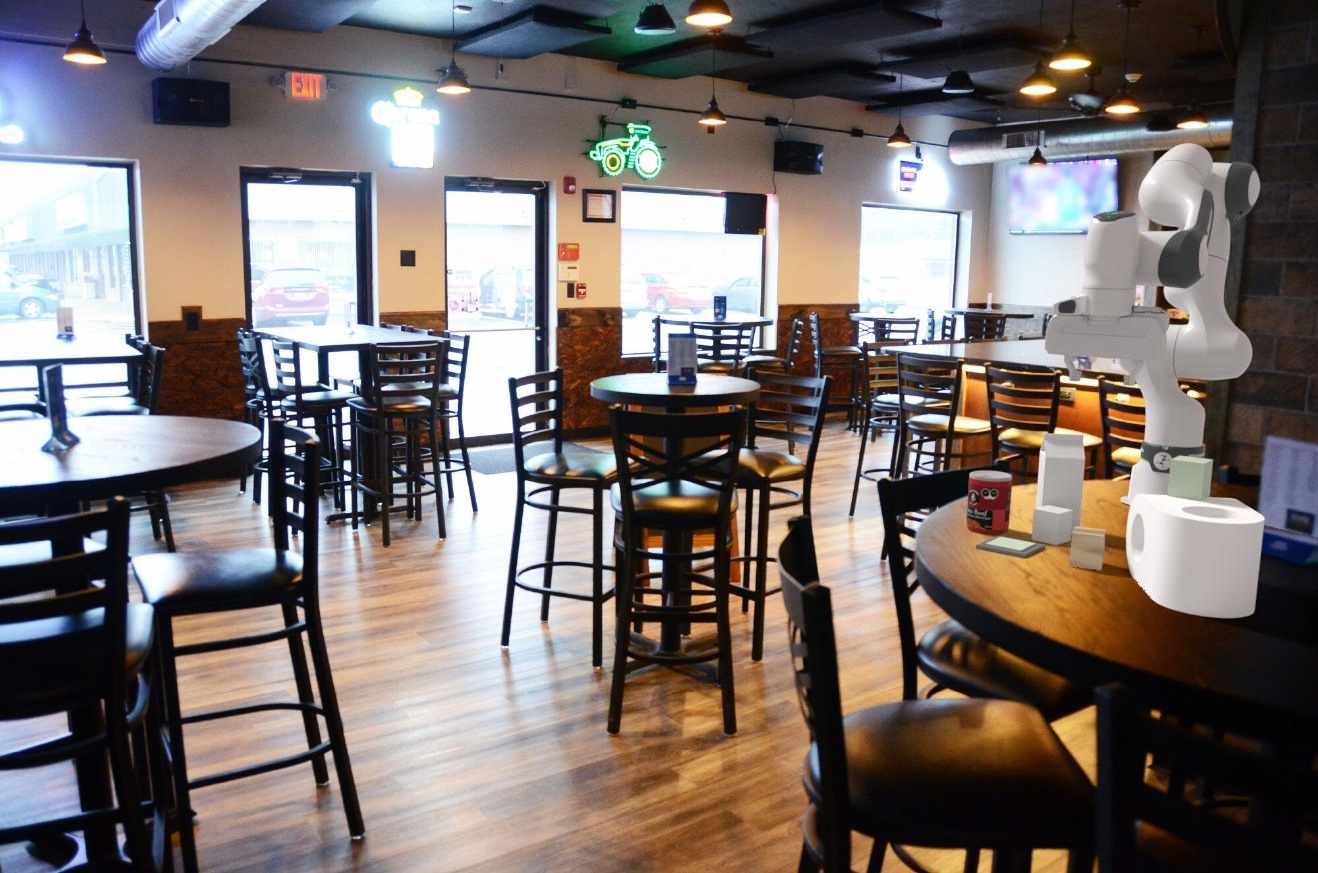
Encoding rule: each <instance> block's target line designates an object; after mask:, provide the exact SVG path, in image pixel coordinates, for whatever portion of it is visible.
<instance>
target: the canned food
mask: <svg viewBox="0 0 1318 873" xmlns="http://www.w3.org/2000/svg"><path fill="white" fill-rule="evenodd" d="M1012 488H1013V475H1012V474H1010V473H1008V472H1003V471H998V470H974V471H971V472H970V473H969V477H968V491H967V492H968V493H967V507H966V508H967V510H966V522H965V523H966V524H965V525H966V528H967V530H969V531H970V532H973V533H977V534H983V535H1001V534H1005V533H1007V532H1008V530H1009V527H1010V518H1011V517H1010V516H1011V515H1010V514H1011V504H1012V502H1011V501H1012V490H1013V489H1012Z"/></svg>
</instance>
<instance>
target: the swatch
mask: <svg viewBox="0 0 1318 873" xmlns="http://www.w3.org/2000/svg"><path fill="white" fill-rule="evenodd" d="M975 548H976V550H977V549H978V550H982V551H983V550H984V551H988V552H992V553H993V552H994V553H998V554H1003V555H1007V556H1011V557H1018V558H1022V559H1026V558H1027V557H1030V556H1032V555H1033V554H1035V553H1037V552H1039V551H1042V550H1043V549H1045V548H1046V546H1045V544H1044V543H1036V542H1032V541H1027V540H1022V539H1015V538H1011V537H1005V536H1000V535H996V536H994V537H991V538H990V539H987V540H985V541H982V542H979V543H978V544H976V545H975Z"/></svg>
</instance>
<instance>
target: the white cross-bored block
mask: <svg viewBox="0 0 1318 873" xmlns="http://www.w3.org/2000/svg"><path fill="white" fill-rule="evenodd" d="M1126 521H1127V522H1126V533H1125V534H1126V535H1125V543H1126V544H1125V548H1126V549H1125V550H1126V559H1127V564H1128V569H1129V573H1130V576H1131V577H1132V579H1133V580H1134V579H1135V580H1136V581H1137V582H1138V583H1137V582H1136V581H1135V580H1134V581H1135V582H1136V583H1137V584H1138V586H1139V587H1140V588H1141V587H1142V588H1143V589H1142V588H1141V589H1142V590H1143V591H1144V590H1145V591H1144V592H1145V593H1146V594H1147V596H1148V597H1149V596H1150V597H1149V598H1150V599H1151V600H1152V601H1154V602H1155V603H1156V604H1158V605H1160V606H1162V607H1165V608H1166V609H1170V610H1173V611H1176V612H1181V613H1185V614H1188V615H1193V616H1194V615H1195V616H1199V617H1205V618H1206V617H1208V618H1218V619H1235V618H1237V619H1238V618H1244V617H1249V616H1251V615H1253V614H1254V613H1255V610H1256V601H1257V591H1258V581H1259V575H1260V574H1259V572H1260V564H1261V557H1262V556H1261V554H1262V547H1263V537H1264V529H1265V528H1264V527H1265V516H1264V515H1263V514H1261V513H1260V512H1258V511H1256V510H1255V509H1253V508H1252V507H1250V506H1248V505H1246V504H1245V503H1244V502H1242V501H1240V500H1238V499H1236V498H1231V497H1212V496H1211V497H1207V498H1205V499H1203V500H1201V501H1199V500H1192V499H1185V498H1178V497H1171V496H1167V495H1152V494H1137V495H1136V496H1135V497H1134V499H1133V500H1132V503H1131V506H1130V505H1129V510H1128V515H1127V520H1126Z"/></svg>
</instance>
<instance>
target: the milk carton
mask: <svg viewBox="0 0 1318 873" xmlns="http://www.w3.org/2000/svg"><path fill="white" fill-rule="evenodd" d="M1084 446H1085V445H1084V434H1072V433H1071V434H1070V433H1051V432H1050V433H1047V432H1044V433H1043V440H1042V442H1041V446H1040V449H1039V459H1038V460H1039V461H1038V462H1039V463H1038V473H1037V474H1038V475H1037V489H1036V500H1035V501H1036V502H1035V508H1038V507H1042V506H1046V505H1050V506H1055V507H1060V508H1065V509H1070V510H1073V514H1072V526H1071V536H1072V532H1073V530H1074V527H1075V526H1076V527H1081V514H1082V501H1083V491H1084V476H1085V475H1084V474H1085V467H1086V466H1085V465H1086V454H1085V447H1084Z"/></svg>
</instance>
